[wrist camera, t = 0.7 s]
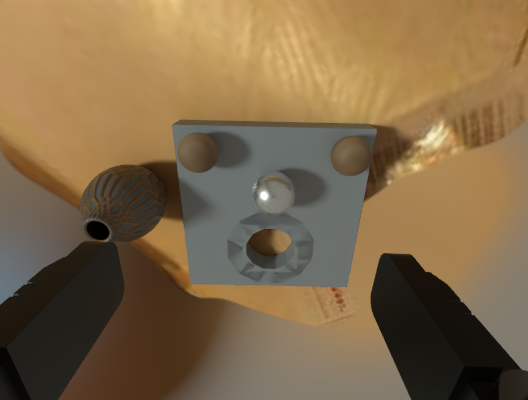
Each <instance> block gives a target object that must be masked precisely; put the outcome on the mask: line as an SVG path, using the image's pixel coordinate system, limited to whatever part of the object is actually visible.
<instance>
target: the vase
mask: <svg viewBox="0 0 528 400" xmlns="http://www.w3.org/2000/svg"><path fill="white" fill-rule="evenodd" d="M166 203H167V196H166V191H165V188H164V185H163V183H162V182H161V180H160V179H159V178H158V177H157V176H156V175H155V174H154V173H153V172H151V171H150V170H148V169H146V168H144V167H141V166H136V165H120V166H115V167H112V168H109V169H107V170H105V171H103V172H102V173H100V174H99V175H97V176H96V177H95V178H94V179H93V180H92V181H91V182H90V183H89V185H88V186H87V187H86V189H85V191H84V193H83V196H82V199H81V204H80V210H81V216H82V219H83V224H82V230H83V233H84V235H85V236H86V237H87V238H88V239H89V240H90V241H100V242H129V241H133V240H136V239H138V238H141V237H143V236H144V235H146V234H147V233H149V232H150V231H151V230H153V229H154V228H155V227H156V225H157V224H158V223H159V221H160V220H161V218H162V216H163V214H164V212H165V208H166Z"/></svg>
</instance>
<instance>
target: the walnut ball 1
mask: <svg viewBox="0 0 528 400" xmlns="http://www.w3.org/2000/svg"><path fill="white" fill-rule="evenodd" d="M177 154H178V159H179V161H180V163H181V164H182V166H183V167H184V168H186V169H187V170H189V171H191V172H194V173H203V172H206V171H209V170H210V169H211V168H213V167H214V165H215V164H216V162H217V159H218V147H217V145H216V143H215V141H214V140H213V139H212V138H211V137H210V136H208V135H206V134H204V133H191V134H188V135H187V136H185V137H184V138H183V139H182V140H181V141H180V143H179V146H178V150H177Z"/></svg>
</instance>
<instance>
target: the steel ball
mask: <svg viewBox="0 0 528 400" xmlns="http://www.w3.org/2000/svg"><path fill="white" fill-rule="evenodd" d="M295 196H296V191H295V187H294V184H293V182H292V181H291V179H290V178H289V177H288V176H287V175H285V174H283V173H281V172H277V171H270V172H266V173H263V174H262V175H260V176H259V177H258V178H257V179H256V180H255V181H254V183H253V185H252V189H251V199H252V202H253V204H254V206H255V207H256V208H257V209H258V210H259V211H260V212H261V213H263V214H266V215H269V216H277V215H281V214H283V213H285V212H287V211H288V210H289V209H290V208H291V206H292V205H293V203H294V200H295Z"/></svg>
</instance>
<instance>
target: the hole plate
mask: <svg viewBox="0 0 528 400" xmlns="http://www.w3.org/2000/svg"><path fill="white" fill-rule="evenodd" d="M172 128H173V137H174V145H175V154H176V162H177V171H178V179H179V187H180V196H181V204H182V213H183V221H184V230H185V238H186V247H187V255H188V264H189V272H190V281H191V284H218V285H269V286H320V287H347V284H348V279H349V273H350V269H351V263H352V258H353V253H354V248H355V243H356V237H357V232H358V227H359V222H360V217H361V211H362V206H363V201H364V196H365V191H366V185H367V180H368V175H369V170H370V165H371V163H370V165H369V166H368V168H367V169H366V170H365V171H364V172H362V173H361V174H359V175H356V176H344V175H342V174H340V173H338V172H337V171H336V170H335V169H334V168H333V166H332V164H331V160H330V154H331V150H332V148H333V146H334V145H335V143H336V142H337V141H339V140H340V139H342V138H344V137H347V136H357V137H360V138H362V139H364V140H365V141H366V142H367V143H368V144H369V146H370V148H371V151H372V154H373V149H374V144H375V138H376V133H377V129H376V128H374V127H372V126H370V125H369V124H343V123H298V122H252V121H207V120H179V121H177V122H176V123H174V124H173V125H172ZM191 133H204V134H206V135H208V136H210V137H211V138H212V139H213V140H214V141H215V143H216V145H217V147H218V159H217V162H216V164H215V165H214V167H213V168H211V169H210V170H209V171H206V172H203V173H194V172H191V171H189V170H187V169H186V168H184V167H183V166H182V164H181V163H180V161H179V159H178V154H177V150H178V146H179V143H180V141H181V140H182V139H183V138H184V137H185V136H187V135H188V134H191ZM270 171H277V172H281V173H283V174H285V175H287V176H288V177H289V178H290V179H291V181H292V182H293V184H294V187H295V191H296V196H295V200H294V203H293V205H292V206H291V208H290V209H289V210H288V211H287V212H285V213H283V214H281V215H277V216H269V215H266V214H263V213H261V212H260V211H259V210H258V209H257V208H256V207H255V206H254V204H253V202H252V199H251V189H252V185H253V183H254V181H255V180H256V179H257V178H258V177H259V176H260V175H262V174H263V173H266V172H270ZM263 229H279V230H281V231H283V232H284V233H286V234H288V235H289V236H290V237H291V239H292V243H291V244H290V246H289V247H288V248H287V250H286V251H284V252H282V253H280V254H277V255H262V254H260V253H258V252H256V251H254V250H253V249H252V247H251V246H250V244H249V243H248V240H249V239H250V237H251V236H252V235H253V234H254V233H256V232H259V231H261V230H263Z"/></svg>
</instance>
